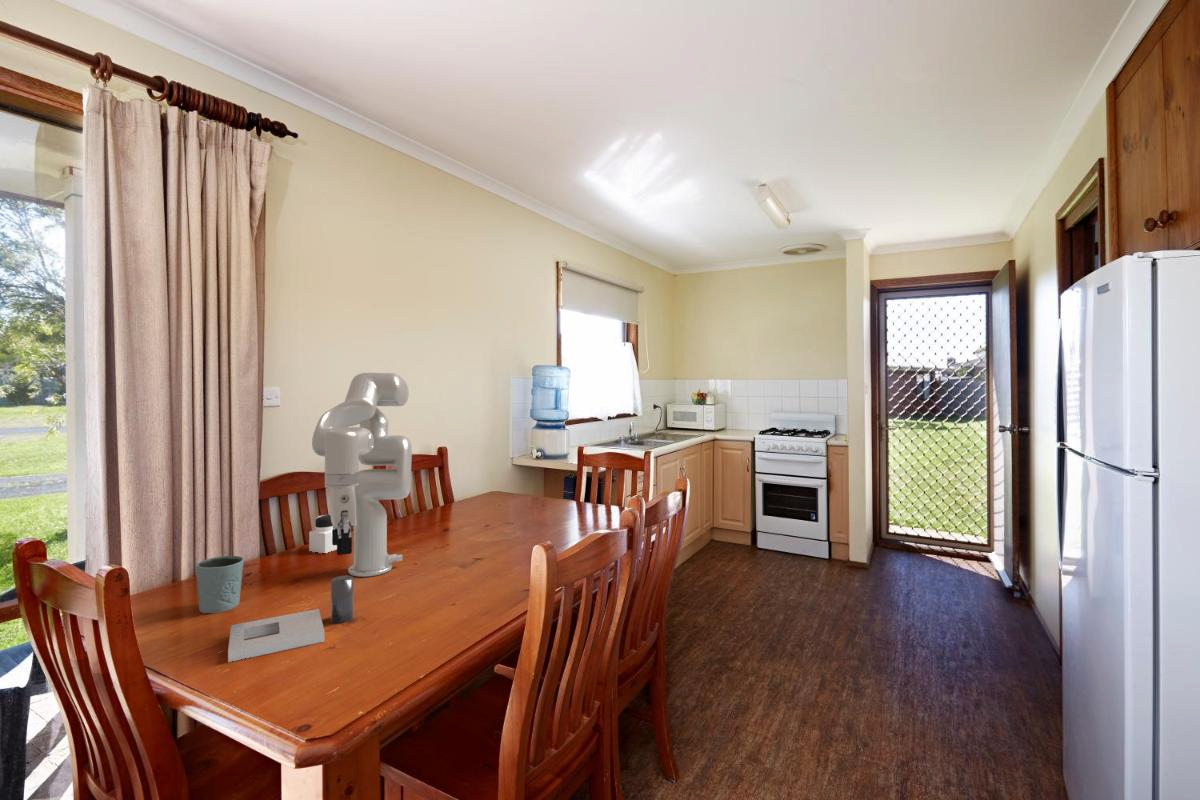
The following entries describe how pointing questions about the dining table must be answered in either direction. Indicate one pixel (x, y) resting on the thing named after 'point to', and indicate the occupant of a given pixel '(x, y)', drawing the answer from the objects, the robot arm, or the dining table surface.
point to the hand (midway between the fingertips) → (341, 549)
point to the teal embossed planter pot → (219, 583)
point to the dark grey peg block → (341, 599)
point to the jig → (291, 634)
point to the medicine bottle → (322, 535)
